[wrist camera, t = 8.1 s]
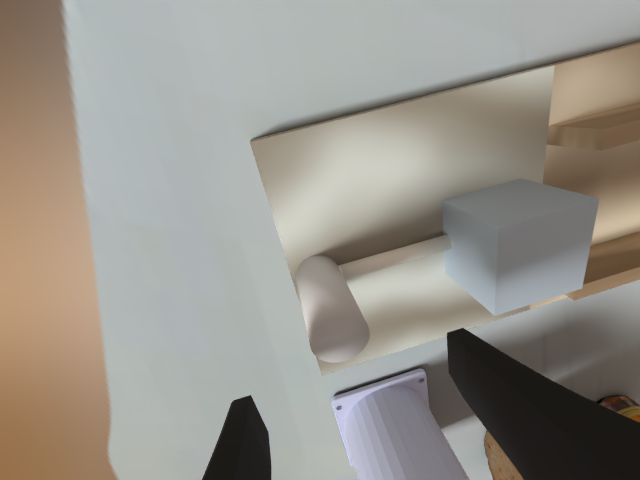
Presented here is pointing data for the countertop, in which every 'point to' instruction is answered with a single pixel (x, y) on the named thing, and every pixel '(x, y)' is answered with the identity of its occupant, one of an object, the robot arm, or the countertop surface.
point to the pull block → (465, 259)
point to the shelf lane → (457, 185)
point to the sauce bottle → (623, 406)
